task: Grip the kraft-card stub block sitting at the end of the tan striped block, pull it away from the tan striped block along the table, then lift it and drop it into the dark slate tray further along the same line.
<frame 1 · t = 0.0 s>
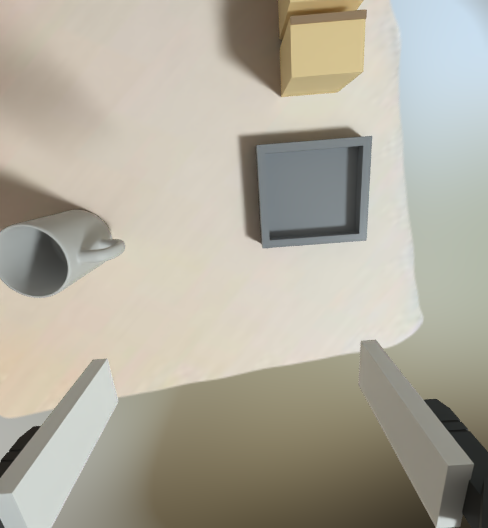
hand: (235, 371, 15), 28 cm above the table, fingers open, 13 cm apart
stub: (309, 71, 35), on the table
tray: (309, 193, 40), on the table
mug: (96, 238, 42), on the table
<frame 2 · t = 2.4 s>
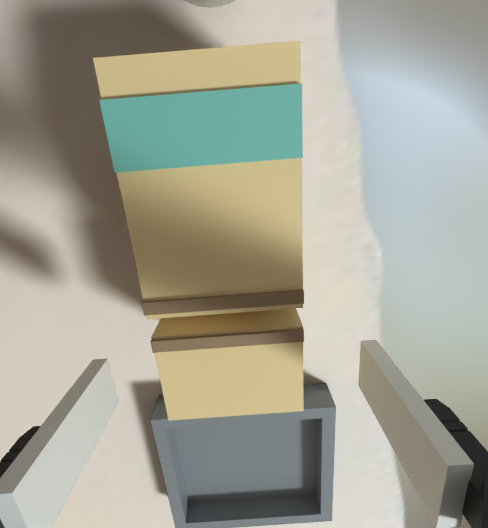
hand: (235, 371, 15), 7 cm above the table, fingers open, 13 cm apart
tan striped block: (223, 185, 19), on the table
stub: (234, 302, 22), on the table
tray: (247, 447, 26), on the table
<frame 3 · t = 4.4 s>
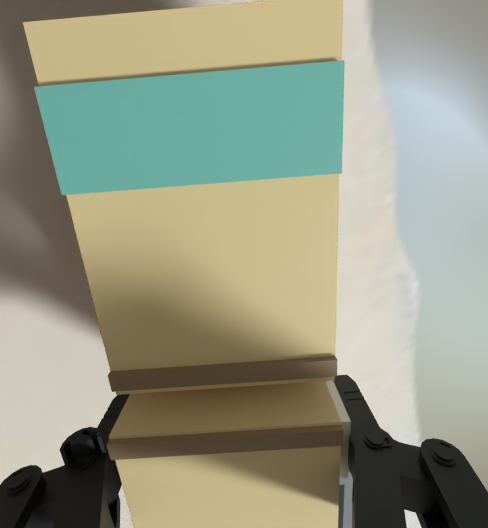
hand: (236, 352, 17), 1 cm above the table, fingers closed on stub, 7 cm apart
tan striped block: (224, 203, 15), on the table
stub: (236, 347, 17), point 1 cm above the table, touching gripper
tray: (253, 507, 22), on the table
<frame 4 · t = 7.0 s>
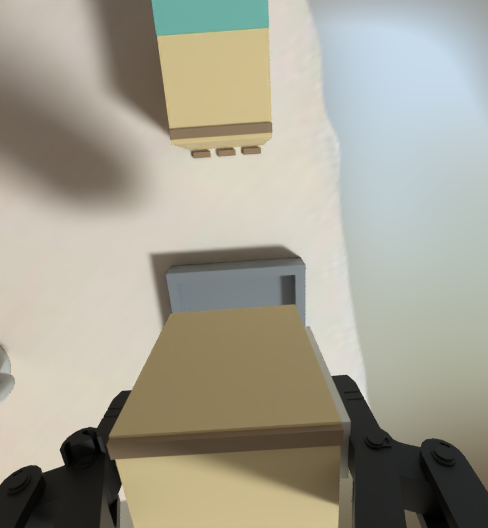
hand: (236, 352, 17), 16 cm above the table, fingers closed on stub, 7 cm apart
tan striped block: (221, 87, 26), on the table
stub: (236, 347, 17), point 15 cm above the table, touching gripper
tray: (239, 315, 34), on the table
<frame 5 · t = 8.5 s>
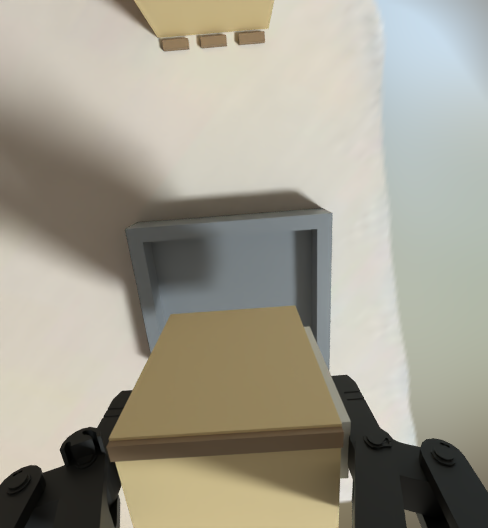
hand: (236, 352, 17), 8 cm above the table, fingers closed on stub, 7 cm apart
stub: (236, 348, 17), point 7 cm above the table, touching gripper
tray: (236, 294, 24), on the table
when the fingers open (3 cm above the table, at t = 9.6 s): stub drops 2 cm, resting on tray.
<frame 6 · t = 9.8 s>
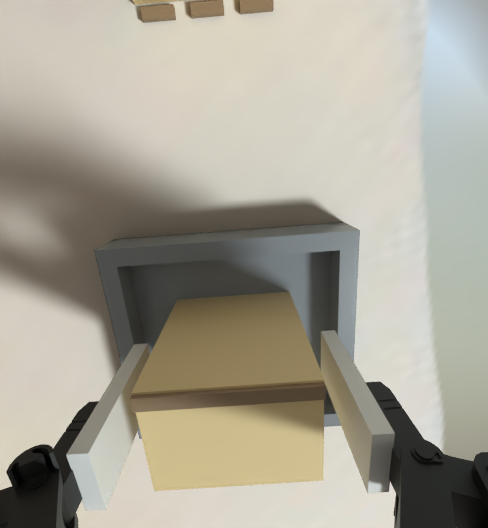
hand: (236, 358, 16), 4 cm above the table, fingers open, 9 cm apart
stub: (236, 331, 19), point 1 cm above the table, touching tray
tray: (236, 325, 20), on the table
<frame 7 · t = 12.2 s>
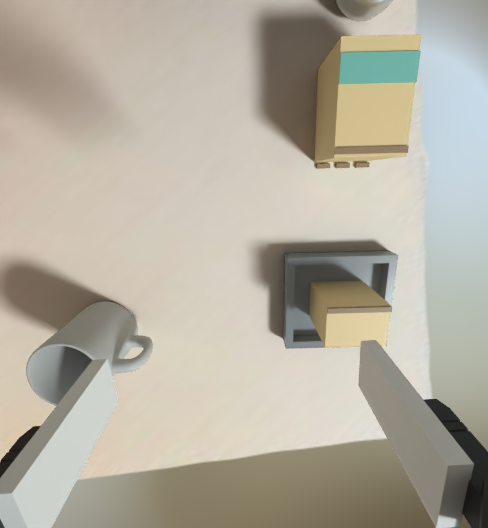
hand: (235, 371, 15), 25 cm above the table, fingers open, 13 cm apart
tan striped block: (345, 116, 35), on the table
stub: (335, 298, 40), point 1 cm above the table, touching tray
tray: (333, 296, 41), on the table
mug: (121, 327, 42), on the table
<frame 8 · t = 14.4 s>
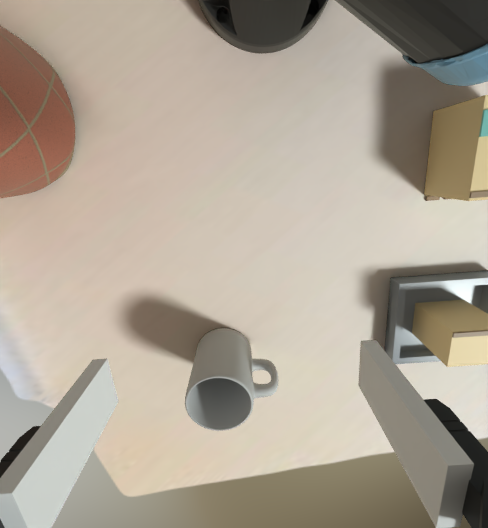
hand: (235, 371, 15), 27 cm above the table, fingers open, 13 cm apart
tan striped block: (456, 152, 37), on the table
stub: (437, 316, 43), point 1 cm above the table, touching tray
tray: (433, 314, 44), on the table
mug: (235, 350, 46), on the table
planter: (7, 119, 36), on the table
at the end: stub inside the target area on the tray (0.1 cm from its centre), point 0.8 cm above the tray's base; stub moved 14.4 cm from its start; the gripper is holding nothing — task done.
